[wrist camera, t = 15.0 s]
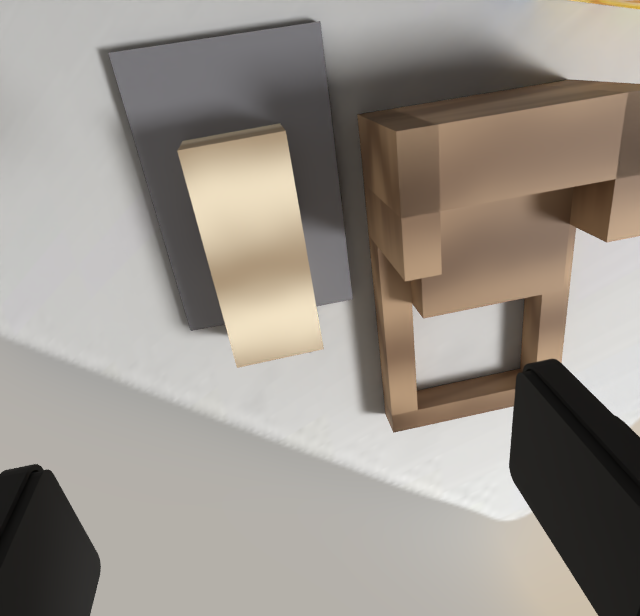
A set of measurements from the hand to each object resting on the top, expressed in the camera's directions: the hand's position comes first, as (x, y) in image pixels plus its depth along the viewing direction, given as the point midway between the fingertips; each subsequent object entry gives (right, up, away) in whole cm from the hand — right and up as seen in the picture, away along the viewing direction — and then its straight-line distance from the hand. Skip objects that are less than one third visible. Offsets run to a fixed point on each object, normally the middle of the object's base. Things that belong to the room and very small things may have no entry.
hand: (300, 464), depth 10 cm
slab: (-3, +7, +18) cm, 20 cm away
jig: (+10, +6, +22) cm, 24 cm away
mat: (-4, +10, +17) cm, 20 cm away
